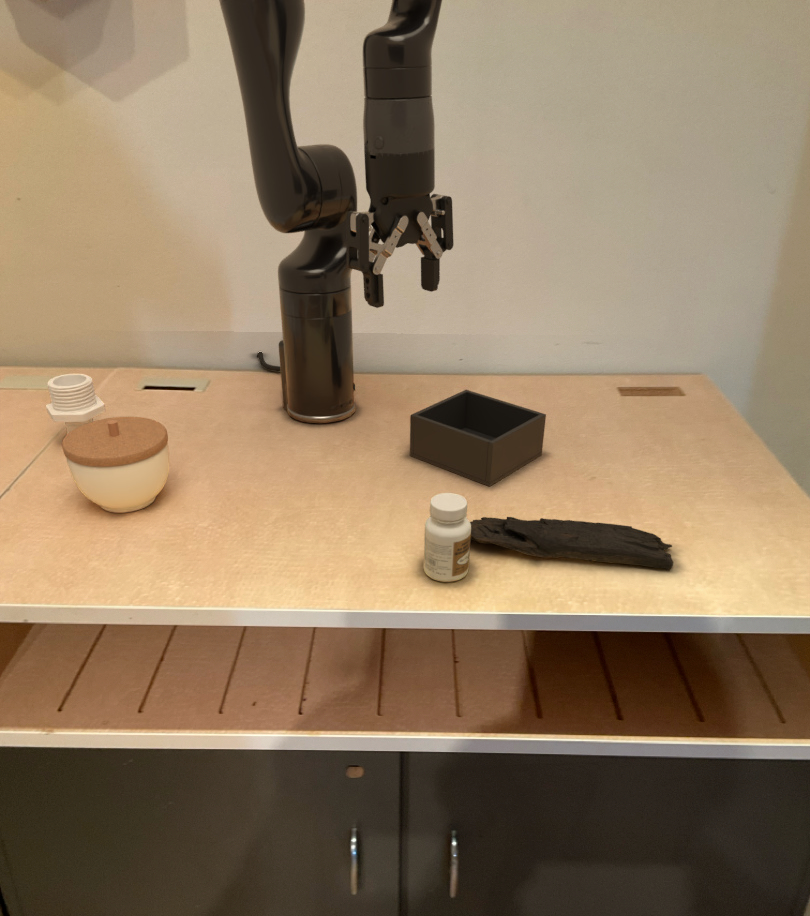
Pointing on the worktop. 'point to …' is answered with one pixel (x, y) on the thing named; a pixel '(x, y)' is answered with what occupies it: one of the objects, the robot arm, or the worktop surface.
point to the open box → (477, 436)
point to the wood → (574, 540)
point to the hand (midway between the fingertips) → (403, 297)
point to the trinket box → (119, 461)
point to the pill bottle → (447, 538)
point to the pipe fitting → (73, 400)
